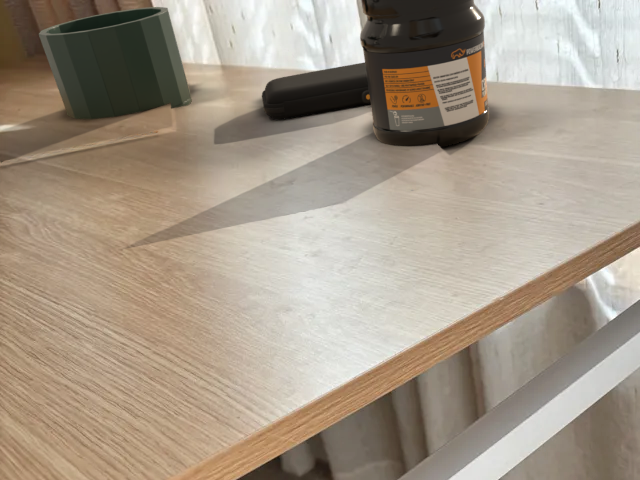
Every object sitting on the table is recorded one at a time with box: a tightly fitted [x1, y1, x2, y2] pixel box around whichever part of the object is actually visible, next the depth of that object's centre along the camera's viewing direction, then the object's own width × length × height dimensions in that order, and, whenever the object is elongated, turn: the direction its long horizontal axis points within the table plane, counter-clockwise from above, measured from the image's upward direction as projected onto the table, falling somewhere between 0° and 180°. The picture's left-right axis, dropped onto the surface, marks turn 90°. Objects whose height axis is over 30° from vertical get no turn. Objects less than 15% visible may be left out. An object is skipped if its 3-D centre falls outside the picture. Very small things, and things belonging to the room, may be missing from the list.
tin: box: [38, 6, 193, 120], centre depth 96 cm, size 15×15×10 cm
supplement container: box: [359, 0, 490, 148], centre depth 70 cm, size 10×10×12 cm
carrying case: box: [261, 61, 371, 121], centre depth 86 cm, size 11×3×15 cm
